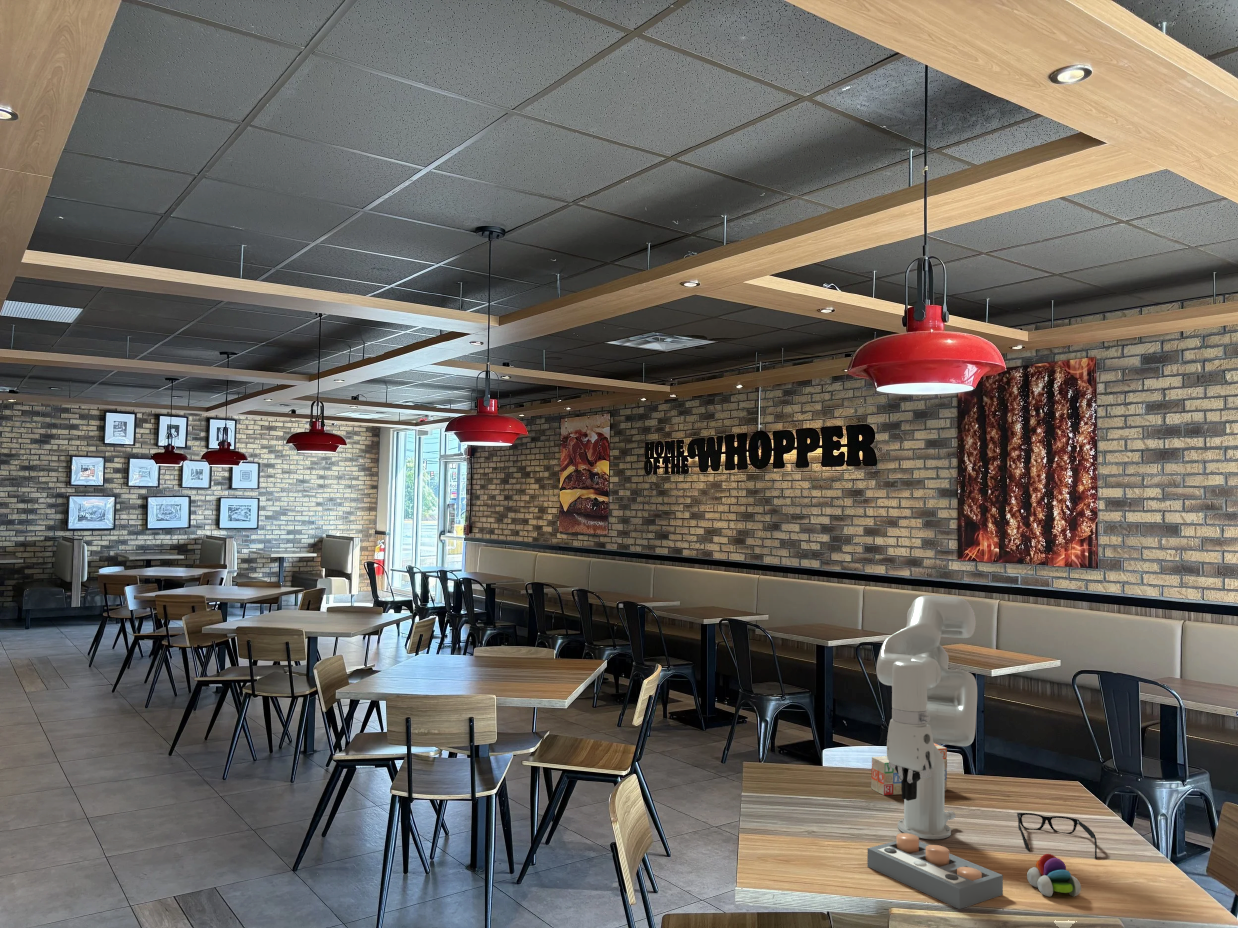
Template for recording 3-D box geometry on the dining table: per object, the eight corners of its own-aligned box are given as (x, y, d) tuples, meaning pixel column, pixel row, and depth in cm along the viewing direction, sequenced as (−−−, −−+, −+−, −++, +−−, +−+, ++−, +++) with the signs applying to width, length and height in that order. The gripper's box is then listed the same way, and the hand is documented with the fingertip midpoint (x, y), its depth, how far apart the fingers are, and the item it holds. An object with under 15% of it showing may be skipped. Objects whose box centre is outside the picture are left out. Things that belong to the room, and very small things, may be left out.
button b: (935, 857, 192) (935, 843, 193) (954, 865, 188) (954, 850, 188) (920, 861, 190) (920, 847, 190) (939, 869, 186) (939, 854, 186)
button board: (909, 854, 202) (909, 835, 202) (1002, 894, 182) (1002, 872, 182) (867, 866, 195) (867, 846, 195) (959, 909, 174) (959, 886, 174)
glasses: (1082, 838, 219) (1082, 817, 219) (1101, 861, 202) (1101, 839, 202) (1011, 830, 223) (1011, 810, 224) (1024, 852, 206) (1023, 830, 207)
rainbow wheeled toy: (1061, 881, 189) (1060, 847, 190) (1086, 901, 179) (1086, 865, 180) (1022, 881, 189) (1022, 847, 189) (1046, 901, 179) (1045, 865, 180)
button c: (966, 879, 185) (966, 865, 186) (986, 888, 181) (986, 873, 182) (952, 884, 183) (952, 869, 183) (971, 893, 179) (971, 877, 179)
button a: (906, 845, 199) (906, 831, 199) (923, 852, 195) (923, 838, 195) (891, 849, 197) (892, 835, 197) (909, 856, 193) (909, 842, 193)
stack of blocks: (883, 796, 245) (884, 751, 246) (870, 789, 251) (871, 745, 252) (947, 790, 252) (947, 747, 252) (933, 783, 258) (933, 741, 258)
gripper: (948, 721, 193) (948, 805, 192) (894, 707, 206) (893, 786, 205) (925, 725, 189) (925, 811, 188) (872, 711, 202) (871, 791, 201)
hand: (909, 798), depth 196 cm, fingers closed
